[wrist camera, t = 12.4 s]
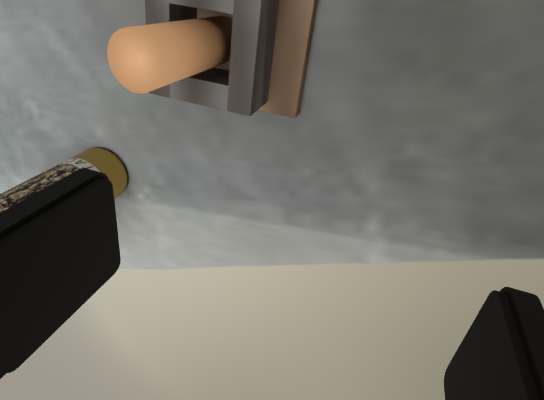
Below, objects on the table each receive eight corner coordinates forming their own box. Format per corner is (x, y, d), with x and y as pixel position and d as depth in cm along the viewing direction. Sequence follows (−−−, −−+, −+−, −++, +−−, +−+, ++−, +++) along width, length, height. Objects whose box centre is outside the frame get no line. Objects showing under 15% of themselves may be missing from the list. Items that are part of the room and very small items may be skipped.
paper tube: (126, 201, 52) (-64, 346, 31) (83, 179, 52) (-132, 306, 32) (133, 160, 48) (-76, 293, 27) (87, 136, 49) (-154, 249, 28)
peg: (246, 19, 35) (161, 33, 23) (242, 65, 37) (162, 99, 25) (205, 12, 36) (104, 22, 24) (204, 57, 38) (109, 86, 26)
